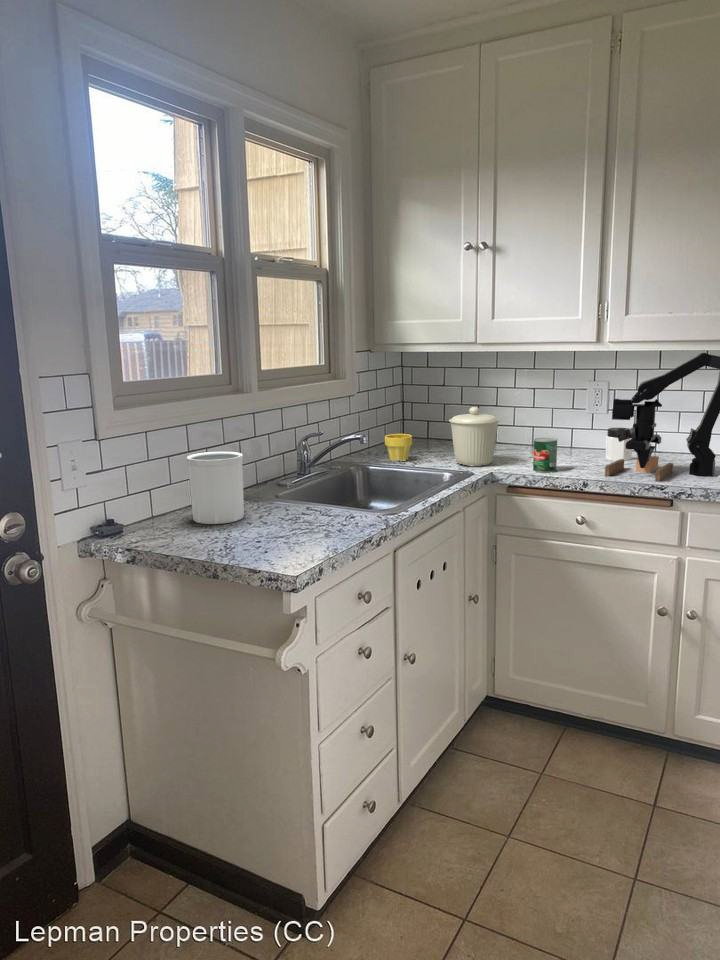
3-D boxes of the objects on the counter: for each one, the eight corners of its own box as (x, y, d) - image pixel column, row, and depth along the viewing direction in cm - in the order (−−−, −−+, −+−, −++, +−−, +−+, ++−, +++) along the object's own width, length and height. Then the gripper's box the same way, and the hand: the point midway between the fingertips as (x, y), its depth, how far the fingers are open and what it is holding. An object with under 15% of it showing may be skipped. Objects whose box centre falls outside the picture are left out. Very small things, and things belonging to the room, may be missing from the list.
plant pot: (397, 464, 270) (397, 438, 268) (379, 461, 278) (379, 435, 276) (418, 460, 276) (417, 435, 274) (399, 457, 284) (399, 432, 282)
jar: (619, 464, 257) (621, 431, 255) (600, 461, 264) (602, 429, 262) (635, 461, 262) (637, 428, 260) (616, 458, 269) (618, 426, 266)
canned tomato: (530, 472, 249) (531, 440, 247) (535, 468, 256) (536, 437, 254) (554, 473, 246) (554, 441, 244) (558, 469, 253) (559, 438, 250)
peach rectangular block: (657, 468, 244) (658, 456, 243) (650, 473, 237) (651, 460, 236) (643, 467, 247) (644, 455, 246) (635, 471, 240) (636, 459, 239)
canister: (455, 459, 278) (454, 404, 273) (502, 460, 272) (503, 404, 267) (444, 467, 261) (444, 409, 257) (494, 469, 255) (495, 409, 251)
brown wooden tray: (674, 477, 235) (675, 463, 234) (661, 485, 223) (661, 471, 222) (618, 471, 246) (618, 458, 245) (602, 479, 234) (603, 465, 233)
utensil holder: (210, 510, 208) (206, 449, 205) (256, 513, 203) (252, 451, 200) (180, 523, 195) (175, 458, 191) (228, 527, 190) (223, 461, 186)
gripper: (628, 416, 246) (626, 461, 249) (610, 422, 231) (608, 470, 234) (663, 418, 239) (660, 464, 242) (646, 424, 225) (643, 473, 228)
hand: (642, 468), depth 237 cm, fingers closed
